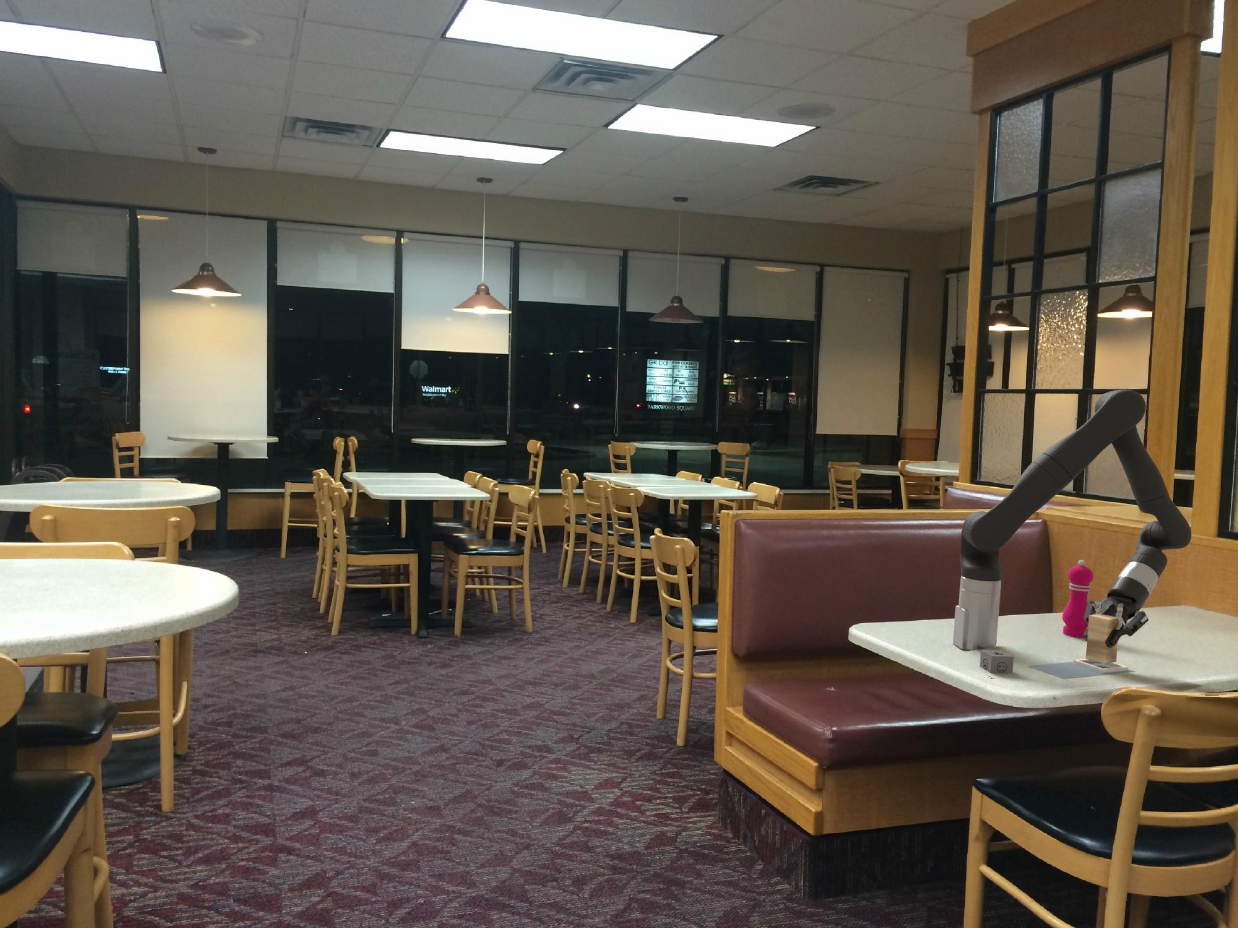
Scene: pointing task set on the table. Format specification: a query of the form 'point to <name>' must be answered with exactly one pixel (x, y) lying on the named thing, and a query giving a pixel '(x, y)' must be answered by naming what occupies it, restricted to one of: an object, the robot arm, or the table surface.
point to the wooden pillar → (1100, 639)
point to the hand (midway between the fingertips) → (1097, 642)
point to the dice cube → (996, 661)
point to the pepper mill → (1077, 600)
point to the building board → (1081, 668)
